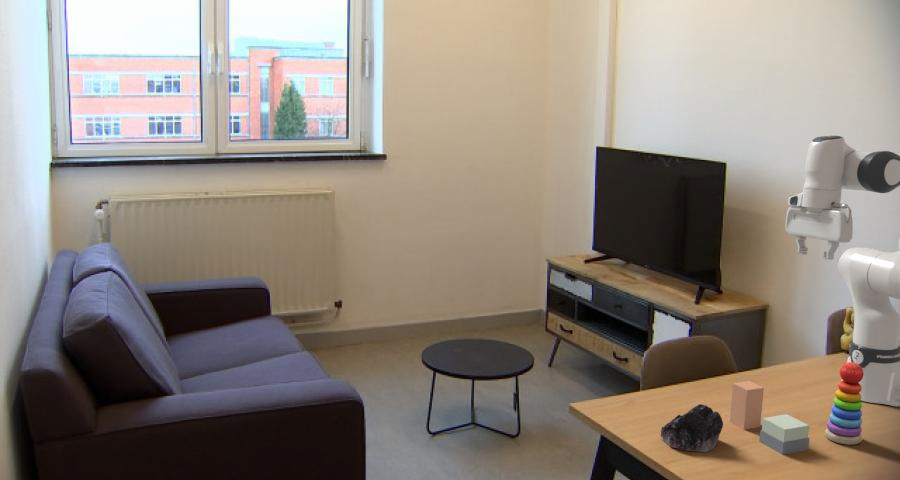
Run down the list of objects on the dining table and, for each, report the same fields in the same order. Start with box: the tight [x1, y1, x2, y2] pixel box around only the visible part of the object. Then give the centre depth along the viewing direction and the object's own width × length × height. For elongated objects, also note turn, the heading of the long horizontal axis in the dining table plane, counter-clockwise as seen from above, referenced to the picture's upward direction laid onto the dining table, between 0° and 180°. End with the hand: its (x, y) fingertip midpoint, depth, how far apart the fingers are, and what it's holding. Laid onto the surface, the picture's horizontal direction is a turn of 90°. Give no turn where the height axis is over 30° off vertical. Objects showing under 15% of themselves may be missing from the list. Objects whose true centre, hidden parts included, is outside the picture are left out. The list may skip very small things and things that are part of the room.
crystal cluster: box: [660, 403, 724, 453], centre depth 201 cm, size 13×14×10 cm
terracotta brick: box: [729, 380, 765, 431], centre depth 212 cm, size 5×5×10 cm
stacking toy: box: [824, 362, 864, 446], centre depth 203 cm, size 8×8×19 cm
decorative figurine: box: [840, 306, 855, 354], centre depth 268 cm, size 10×8×15 cm
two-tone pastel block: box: [758, 413, 810, 455], centre depth 200 cm, size 8×8×6 cm
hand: (815, 256), depth 217 cm, fingers open, 8 cm apart
